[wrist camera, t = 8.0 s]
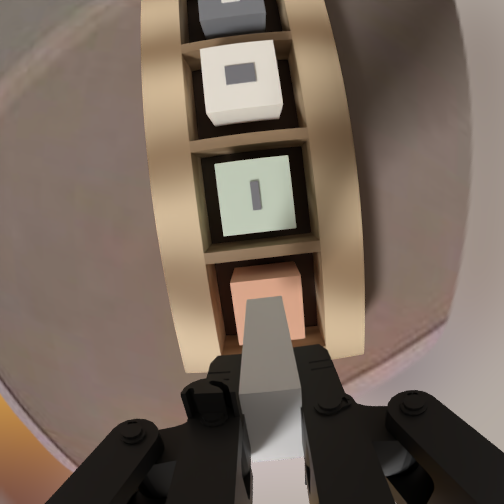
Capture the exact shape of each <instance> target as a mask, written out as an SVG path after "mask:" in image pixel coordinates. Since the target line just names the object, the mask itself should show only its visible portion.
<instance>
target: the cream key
mask: <svg viewBox="0 0 504 504" xmlns="http://www.w3.org/2000/svg"><path fill="white" fill-rule="evenodd" d="M200 56H201V67H202V77H203V87H204V97H205V107H206V114H207V115H208V117H209V118H210V120H211V121H212V123H213V124H214V125H215V127H216V126H223V125H230V124H238V123H246V122H254V121H263V120H273V119H279V117H280V113H281V110H282V106H283V100H282V93H281V86H280V80H279V74H278V68H277V62H276V56H275V50H274V44H273V40H265V41H254V42H245V43H236V44H229V45H222V46H215V47H209V48H203V49H200Z"/></svg>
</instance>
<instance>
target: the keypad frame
mask: <svg viewBox="0 0 504 504" xmlns="http://www.w3.org/2000/svg"><path fill="white" fill-rule="evenodd" d="M276 1H277V5H278V10H279V15H280V20H281V25H282V30H283V31H281V32H266V33H255V34H245V35H237V36H229V37H222V38H215V39H209V40H203V41H198V42H193V43H190V42H189V28H188V13H187V0H141V70H142V93H143V110H144V124H145V136H146V147H147V157H148V167H149V176H150V184H151V192H152V200H153V207H154V215H155V221H156V228H157V235H158V241H159V247H160V253H161V259H162V265H163V270H164V276H165V281H166V286H167V291H168V296H169V301H170V306H171V311H172V316H173V320H174V325H175V330H176V334H177V338H178V343H179V347H180V351H181V355H182V359H183V363H184V367H185V371H186V373H200V372H208V370H209V366H210V363H211V362H212V361H213V360H214V359H215V358H216V357H217V356H219V355H233V354H242V348H243V345H239V340H238V335H227V336H226V332H225V326H224V320H223V314H222V308H221V302H220V296H219V289H218V283H217V276H216V269H215V263H224V262H233V261H242V260H250V259H259V258H268V257H277V256H286V255H294V254H303V253H312V252H313V263H314V277H315V292H316V308H317V326H311V327H305V338H303V339H295V340H291V342H292V346H293V347H299V346H307V345H314V344H320V345H321V346H323V347H324V348H325V349H327V350H328V352H329V354H330V357H331V359H338V358H344V357H349V356H355V355H361V354H364V333H365V282H364V252H363V234H362V219H361V206H360V195H359V184H358V175H357V166H356V158H355V150H354V143H353V136H352V129H351V122H350V116H349V110H348V104H347V99H346V93H345V88H344V82H343V77H342V72H341V68H340V63H339V58H338V54H337V49H336V45H335V41H334V37H333V33H332V29H331V25H330V21H329V17H328V13H327V10H326V6H325V3H324V0H276ZM265 40H273V44H274V50H275V56H276V60H285V59H288V62H289V68H290V74H291V80H292V86H293V92H294V99H295V105H296V112H297V118H298V125H299V128H292V129H281V130H270V131H261V132H252V133H244V134H236V135H229V136H221V137H215V138H208V139H202V140H199V138H198V129H197V120H196V110H195V100H194V89H193V78H192V71H196V70H201V69H202V67H201V56H200V49H203V48H209V47H215V46H222V45H229V44H236V43H245V42H254V41H265ZM297 146H301V147H302V155H303V163H304V171H305V180H306V189H307V198H308V208H309V218H310V228H311V233H304V234H295V235H286V236H277V237H269V238H260V239H251V240H242V241H234V242H225V243H217V244H212V242H211V235H210V228H209V220H208V213H207V205H206V197H205V189H204V181H203V173H202V165H201V158H205V157H212V156H218V155H225V154H233V153H241V152H249V151H257V150H266V149H276V148H286V147H297Z"/></svg>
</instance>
